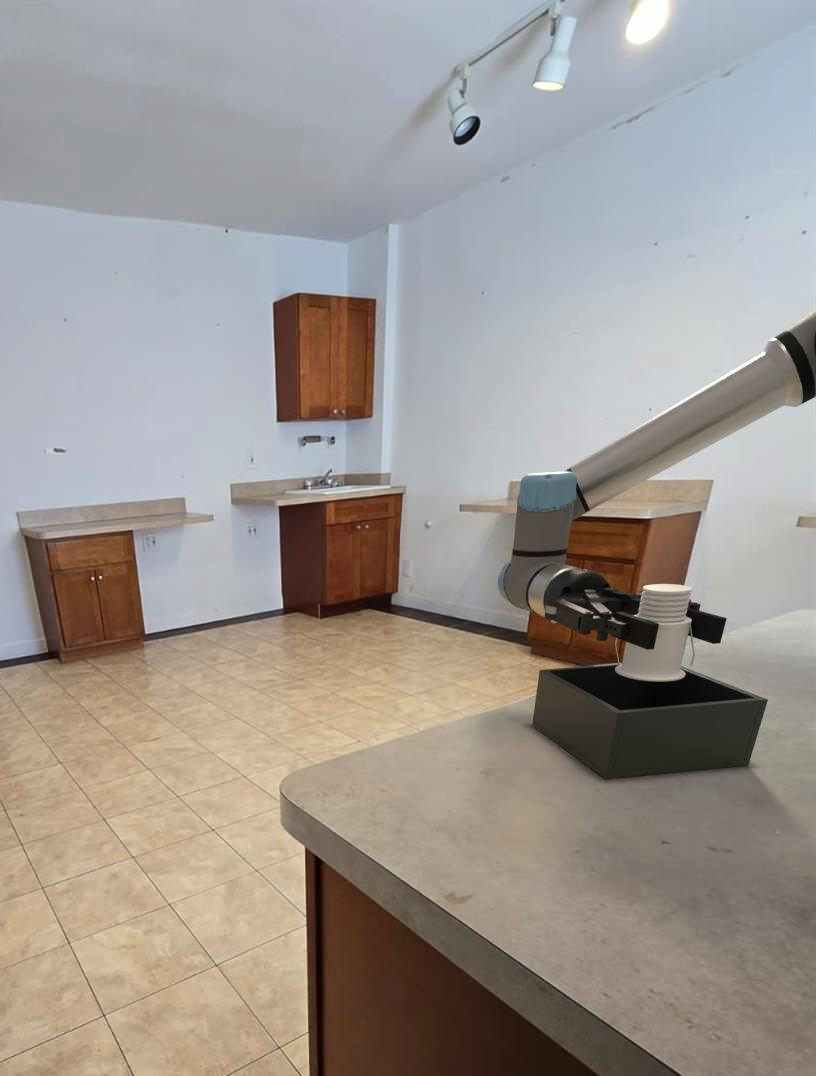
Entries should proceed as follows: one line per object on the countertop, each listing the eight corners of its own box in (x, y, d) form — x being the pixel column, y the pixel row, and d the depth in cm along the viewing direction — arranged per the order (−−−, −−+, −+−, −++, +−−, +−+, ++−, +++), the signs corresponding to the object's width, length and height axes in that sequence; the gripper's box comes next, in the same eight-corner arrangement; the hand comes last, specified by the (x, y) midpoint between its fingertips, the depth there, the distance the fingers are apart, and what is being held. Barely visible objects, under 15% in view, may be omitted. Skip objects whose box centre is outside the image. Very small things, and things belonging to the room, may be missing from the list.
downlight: (613, 682, 73) (629, 593, 69) (606, 664, 79) (622, 582, 75) (695, 685, 70) (718, 593, 66) (682, 667, 76) (703, 582, 72)
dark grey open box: (651, 714, 86) (663, 658, 83) (748, 765, 71) (768, 699, 68) (531, 725, 86) (539, 669, 82) (604, 779, 71) (617, 713, 67)
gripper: (632, 617, 90) (765, 660, 70) (497, 628, 90) (591, 675, 69) (643, 562, 87) (785, 590, 66) (503, 574, 86) (603, 605, 66)
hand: (686, 633), depth 68 cm, fingers closed on downlight, 7 cm apart
